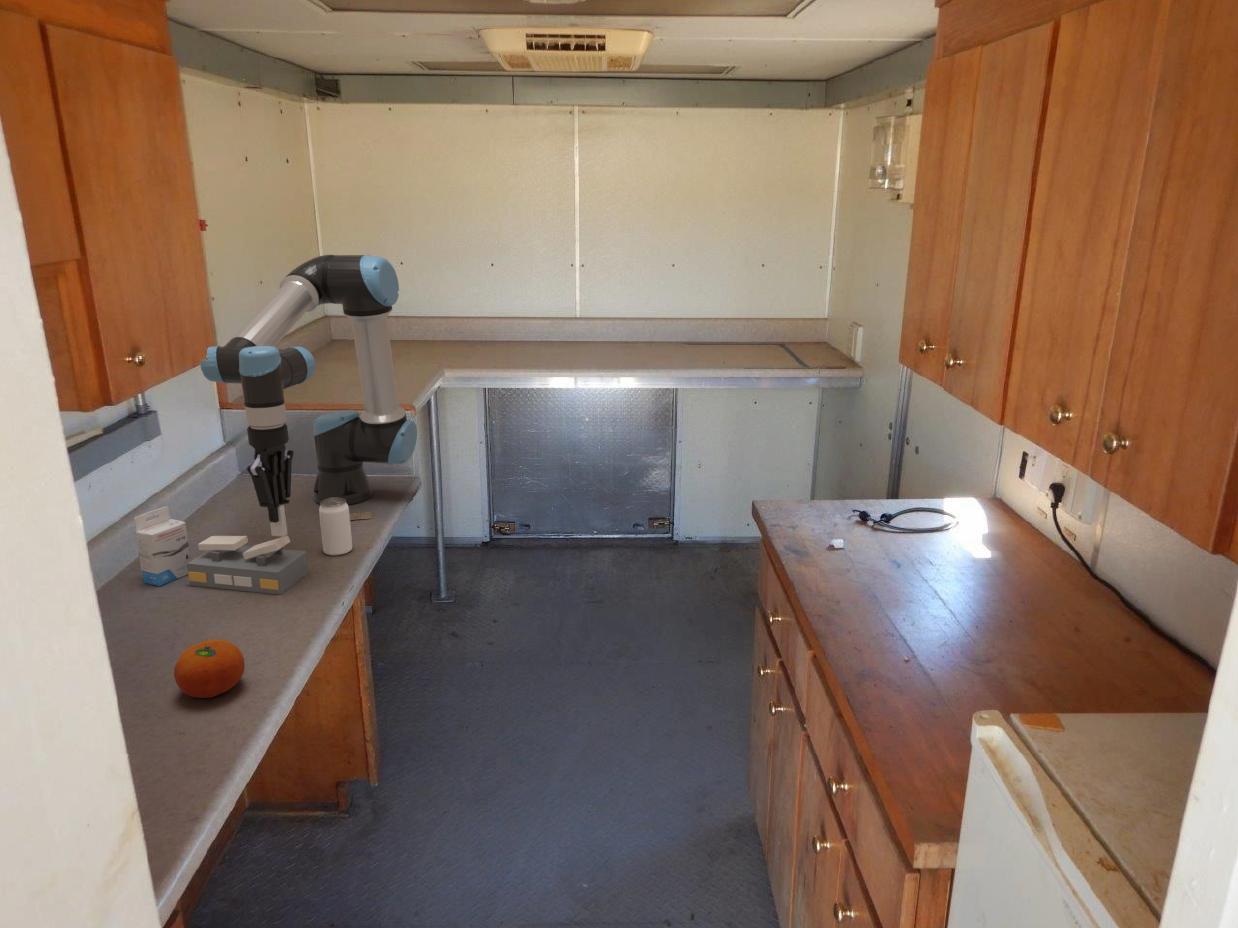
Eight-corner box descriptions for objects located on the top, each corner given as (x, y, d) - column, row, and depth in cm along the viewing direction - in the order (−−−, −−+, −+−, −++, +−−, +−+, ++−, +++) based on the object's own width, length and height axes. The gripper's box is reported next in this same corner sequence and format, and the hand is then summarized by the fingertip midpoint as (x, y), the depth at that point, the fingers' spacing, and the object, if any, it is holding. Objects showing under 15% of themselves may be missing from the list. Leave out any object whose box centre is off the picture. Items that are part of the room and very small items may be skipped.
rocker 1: (214, 546, 189) (212, 535, 188) (249, 546, 187) (246, 535, 186) (200, 554, 184) (198, 544, 184) (236, 554, 182) (233, 544, 182)
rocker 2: (259, 555, 187) (255, 545, 186) (292, 545, 184) (287, 535, 184) (247, 563, 183) (242, 553, 182) (280, 554, 180) (275, 543, 180)
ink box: (158, 587, 182) (147, 521, 178) (142, 582, 184) (131, 517, 180) (193, 572, 190) (184, 508, 185) (178, 568, 192) (168, 504, 187)
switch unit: (222, 564, 193) (218, 535, 191) (309, 572, 190) (306, 543, 187) (189, 585, 183) (184, 555, 181) (280, 595, 179) (276, 564, 177)
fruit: (196, 673, 150) (189, 631, 148) (256, 672, 150) (251, 631, 148) (166, 708, 140) (158, 664, 138) (231, 707, 140) (225, 664, 138)
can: (344, 557, 198) (339, 507, 194) (317, 554, 199) (312, 505, 195) (357, 546, 204) (353, 498, 200) (332, 544, 205) (327, 496, 201)
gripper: (268, 416, 181) (280, 522, 188) (230, 431, 169) (244, 544, 176) (301, 418, 180) (312, 525, 187) (265, 434, 168) (278, 548, 175)
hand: (279, 534), depth 181 cm, fingers closed
